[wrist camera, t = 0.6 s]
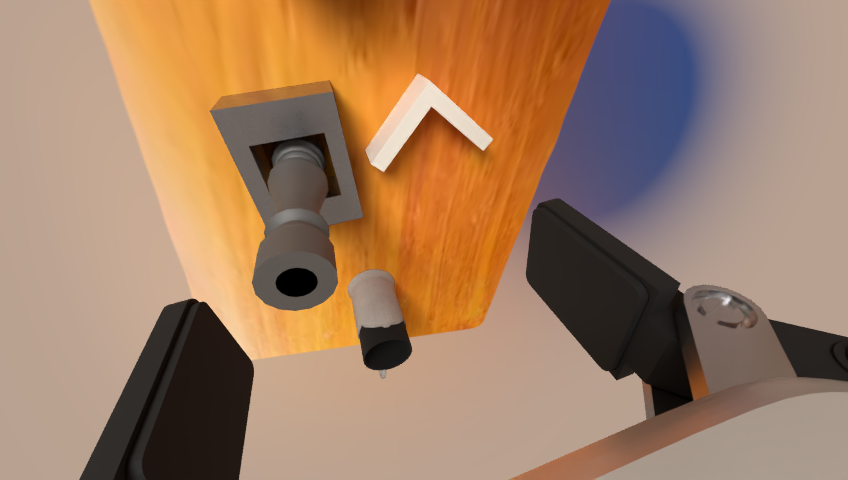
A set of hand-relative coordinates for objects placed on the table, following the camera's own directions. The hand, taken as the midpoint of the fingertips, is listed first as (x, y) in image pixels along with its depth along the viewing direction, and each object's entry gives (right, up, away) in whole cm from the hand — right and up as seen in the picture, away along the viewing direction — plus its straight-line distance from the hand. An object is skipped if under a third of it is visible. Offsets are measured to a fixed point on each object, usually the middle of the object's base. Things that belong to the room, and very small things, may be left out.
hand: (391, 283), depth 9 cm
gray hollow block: (-15, +13, +32) cm, 38 cm away
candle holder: (-15, +13, +32) cm, 38 cm away
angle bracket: (+1, +19, +34) cm, 39 cm away
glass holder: (-9, -10, +52) cm, 54 cm away
